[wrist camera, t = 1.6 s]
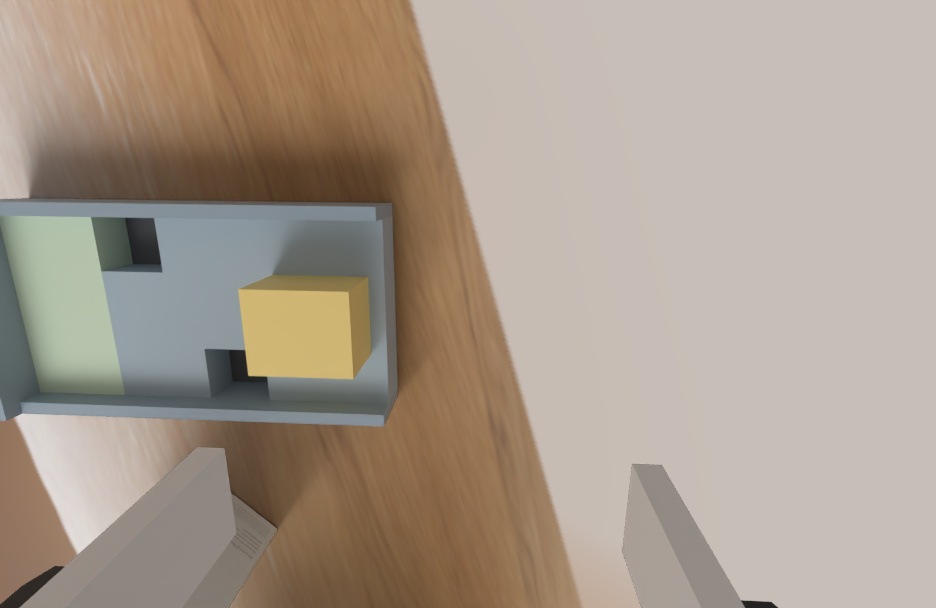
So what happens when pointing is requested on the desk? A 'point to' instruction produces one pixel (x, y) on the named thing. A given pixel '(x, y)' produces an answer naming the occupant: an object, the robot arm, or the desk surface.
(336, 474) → the desk surface
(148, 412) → the tray
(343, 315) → the block
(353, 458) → the desk surface
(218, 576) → the supplement box
